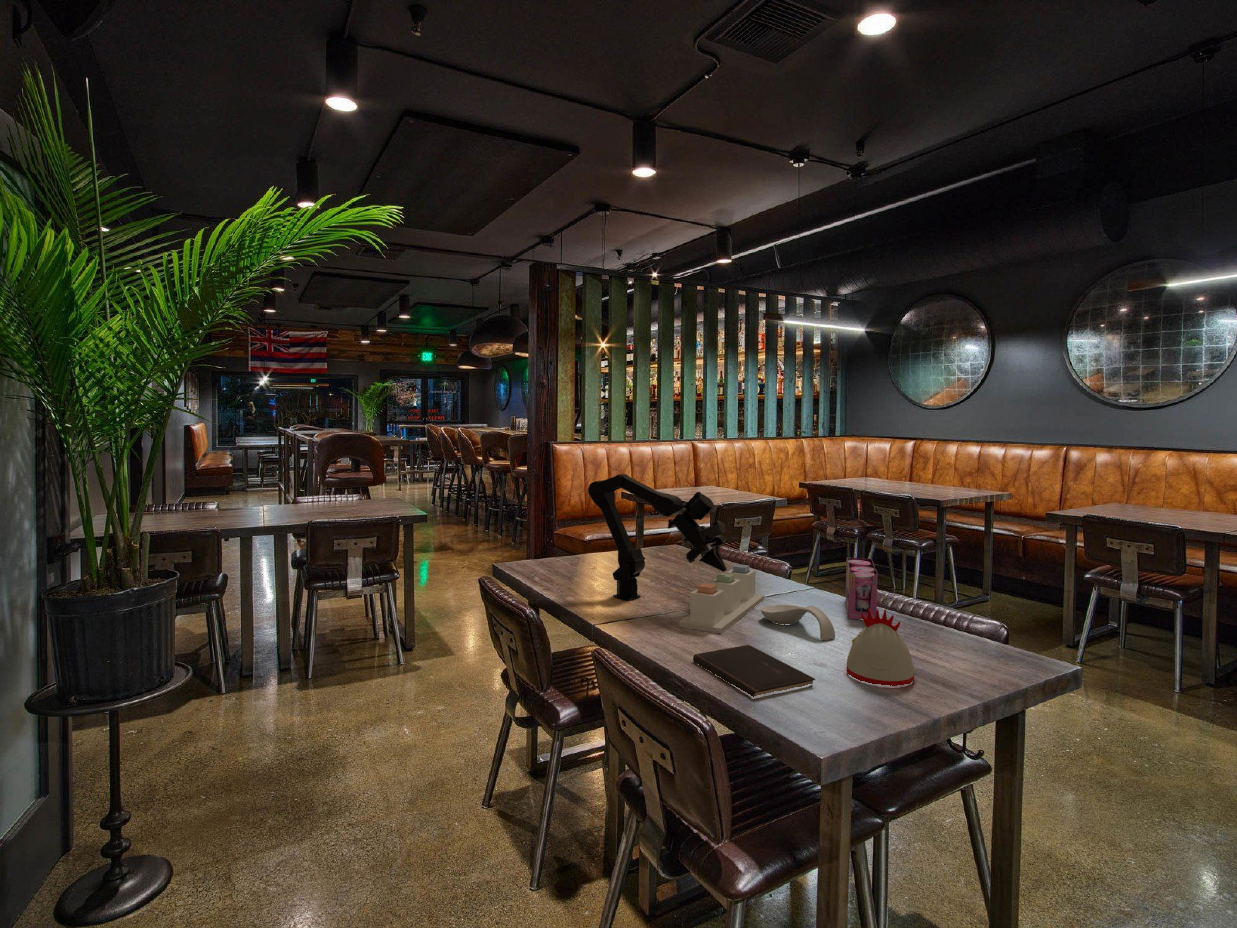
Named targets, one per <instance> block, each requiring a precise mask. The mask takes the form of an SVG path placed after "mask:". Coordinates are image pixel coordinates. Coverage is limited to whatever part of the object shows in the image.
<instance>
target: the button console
mask: <svg viewBox="0 0 1237 928" xmlns="http://www.w3.org/2000/svg"><path fill="white" fill-rule="evenodd" d="M725 572H726V574H734V582H732V583H731V584H729V583H722V582H716V578H714V579H712V580H711V581H709V584H715V585H717V592H716V593H715V594H713V595H711V594H704V593H698V588H696V589H694V590H693V591H691V592H690V596H689V597H690V599H689V600H690V607H689V608H690V609H689V610H690V612H689V613H690V614H689V615H687V616H686V617H684V618H683V619H681V620H680V621H679V628H683V629H687V630H688V629H689V630H694V629H698V630H697V631H700V630H703V631H702V632H706V631H708V633H711V632H712V633H713V634H717V633H722V634H723V633H725V632H726V631H727V630H728V629H730V628H731V627H732V626H734V625H735V624H736V623H737V622H738V621H740V620H741V619H742V618H744V617H745V616H746V615H748V613H747V612H749V611H750V610H751V609H752V610H754V609H755V608H756V607H757V606H759V605H760V604H761V603H763V602H764V601H765V595H762V594H756V570H754V569H749V573H747V574H743V573H734V572H733V568H732V569H730V570H728V571H725ZM763 600H764V601H763ZM762 601H763V602H762ZM760 602H761V603H760ZM759 603H760V604H759ZM758 604H759V605H758ZM756 605H757V606H756ZM755 606H756V607H755ZM754 607H755V608H754ZM753 608H754V609H753ZM752 610H751V611H752ZM751 611H750V612H751ZM750 612H749V613H750ZM743 616H744V617H743ZM740 618H741V619H740ZM739 619H740V620H739ZM735 622H736V623H735ZM734 623H735V624H734ZM730 626H731V627H730ZM729 627H730V628H729ZM726 629H727V630H726ZM725 630H726V631H725ZM724 631H725V632H724ZM712 633H711V634H712Z"/></svg>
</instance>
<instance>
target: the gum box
mask: <svg viewBox="0 0 1237 928" xmlns="http://www.w3.org/2000/svg"><path fill="white" fill-rule="evenodd" d="M845 561H846V563H845V565H846V567H845V569H846V570H845V603H846V606H847V607H846V614H847V619H848V618H849V619H848V620H856V619H862V617H861V613H862V614H863V616H864V617H865V618H867V616H868V608H869V609H870V612H871V615H872V617H873V618H875V615H876V611H877V609H878V570H877V569H876V567H875V564H874V561H873V559H872V558H862V557H846V560H845Z"/></svg>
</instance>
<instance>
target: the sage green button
mask: <svg viewBox="0 0 1237 928" xmlns="http://www.w3.org/2000/svg"><path fill="white" fill-rule="evenodd" d="M715 579H716V582H722V583H729V584H731V583H732V582H734V574H726V573H725V572H721V573H719V574H717V575H716V577H715Z"/></svg>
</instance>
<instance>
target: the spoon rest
mask: <svg viewBox="0 0 1237 928" xmlns="http://www.w3.org/2000/svg"><path fill="white" fill-rule="evenodd" d="M760 612H761V614H762V616H763V617H764V618H765V619H767V620H768V621H770V622H771V623H773V622H774V623H773V624H775V623H778V624H784V625H783V626H786V625H785V624H793V625H795V624H796V623H797V622H799V621H800V620H801V619H802V618H803V617H804V616H805V615H806V614H807V613H809V614H811V615H812V616H814V618H815V619H816V621H817V622H818V625H819V636H820V641H821V640H825V641H830V639H831V640H834V639H835V638H836V633H835V632H836V631H835V628H834V625H833V623H832V622H831V619H830V618H829V617H828V616H827V614H826V613H825V612H824V611H823V610H822V609H821V608H819V607H817V606H815V605H808V606H805V607H803V606H798V605H792V604H773V605H765V606H763V607H761V608H760ZM794 623H795V624H794ZM778 624H777V625H778ZM833 638H834V639H833Z"/></svg>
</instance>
